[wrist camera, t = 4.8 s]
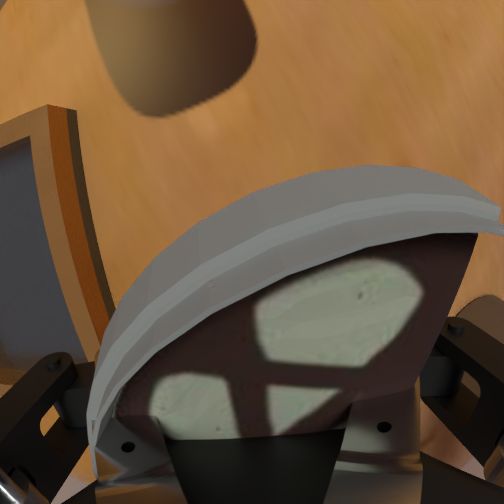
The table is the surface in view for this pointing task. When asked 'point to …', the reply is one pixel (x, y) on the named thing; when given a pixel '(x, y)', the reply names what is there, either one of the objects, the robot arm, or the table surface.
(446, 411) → the robot arm
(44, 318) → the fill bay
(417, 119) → the table surface
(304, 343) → the food container
